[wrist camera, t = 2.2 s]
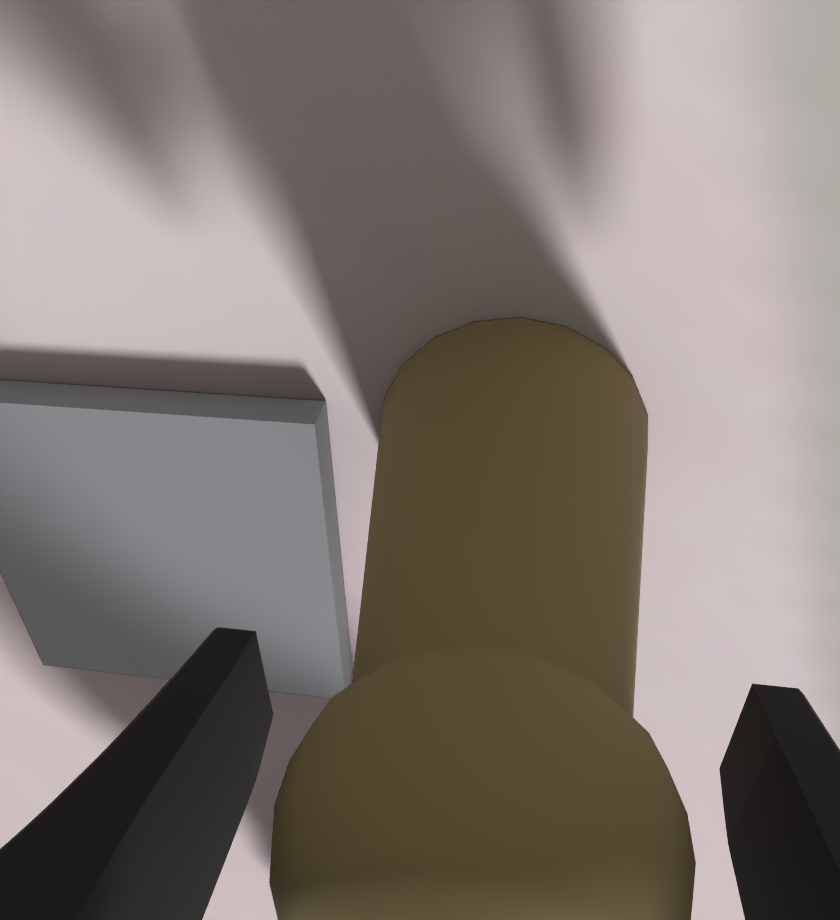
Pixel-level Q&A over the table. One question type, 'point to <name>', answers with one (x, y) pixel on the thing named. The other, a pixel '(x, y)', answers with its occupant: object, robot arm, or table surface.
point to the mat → (172, 529)
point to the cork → (493, 659)
